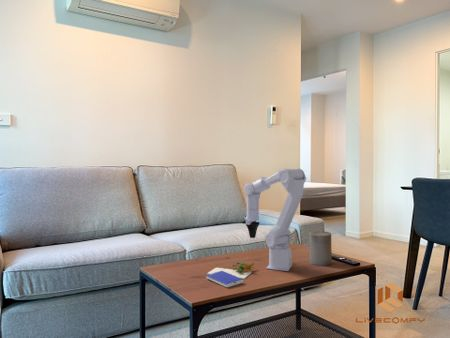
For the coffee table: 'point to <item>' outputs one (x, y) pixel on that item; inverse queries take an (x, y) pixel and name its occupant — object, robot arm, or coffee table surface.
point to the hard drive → (224, 278)
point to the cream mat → (231, 272)
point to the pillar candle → (320, 248)
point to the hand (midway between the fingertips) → (252, 237)
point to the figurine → (243, 267)
